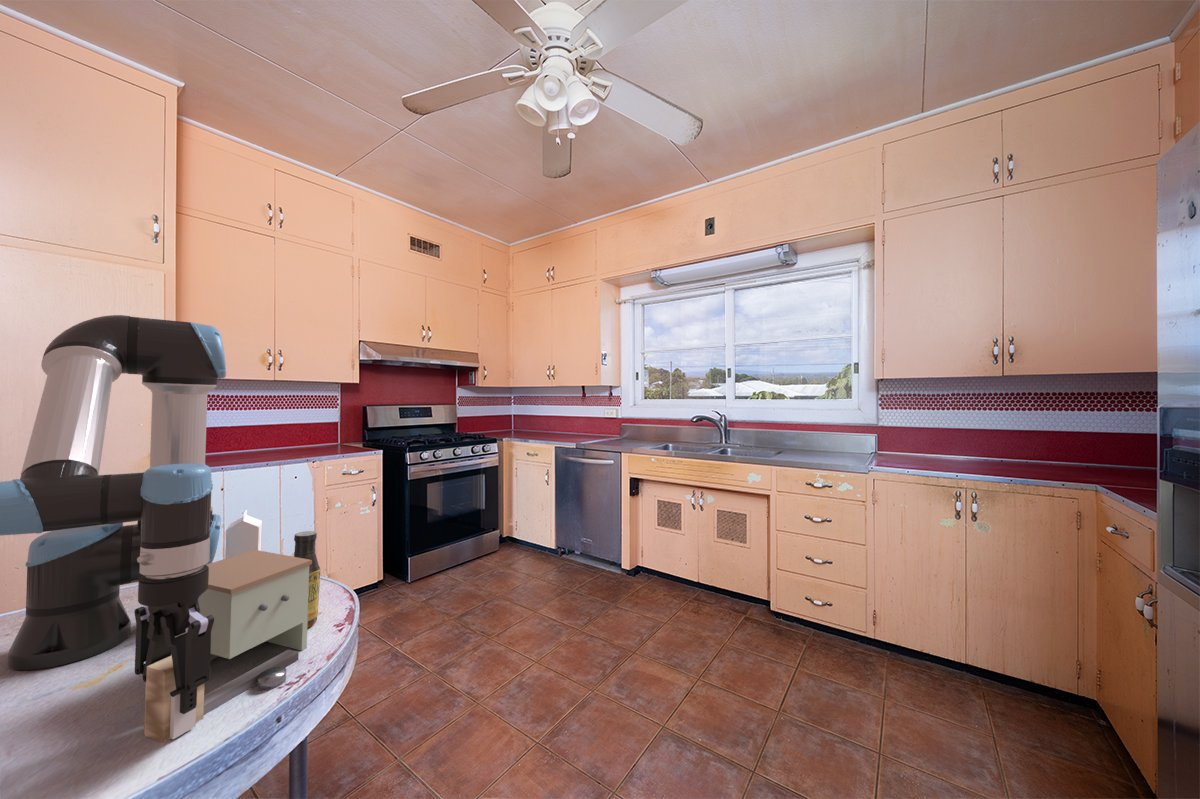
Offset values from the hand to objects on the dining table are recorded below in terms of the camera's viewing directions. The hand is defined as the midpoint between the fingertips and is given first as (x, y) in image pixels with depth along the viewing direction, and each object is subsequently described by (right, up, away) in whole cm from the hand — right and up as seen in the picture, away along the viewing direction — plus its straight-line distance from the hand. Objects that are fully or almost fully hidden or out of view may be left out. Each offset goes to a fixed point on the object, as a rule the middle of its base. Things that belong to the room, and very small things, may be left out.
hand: (170, 727), depth 65 cm
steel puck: (+7, -1, +11) cm, 13 cm away
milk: (-21, 0, +38) cm, 44 cm away
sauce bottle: (-1, -1, +30) cm, 30 cm away
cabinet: (-4, 0, +17) cm, 18 cm away
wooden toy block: (+2, 0, +8) cm, 9 cm away
